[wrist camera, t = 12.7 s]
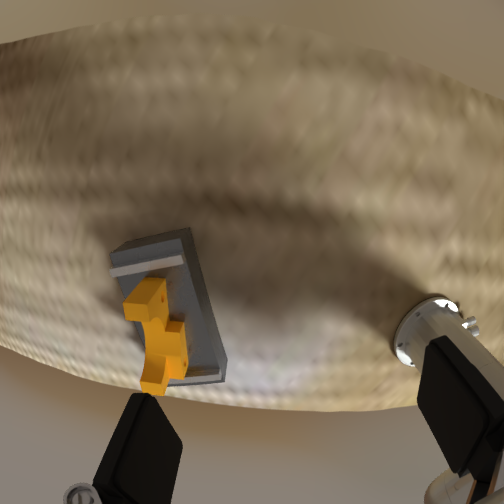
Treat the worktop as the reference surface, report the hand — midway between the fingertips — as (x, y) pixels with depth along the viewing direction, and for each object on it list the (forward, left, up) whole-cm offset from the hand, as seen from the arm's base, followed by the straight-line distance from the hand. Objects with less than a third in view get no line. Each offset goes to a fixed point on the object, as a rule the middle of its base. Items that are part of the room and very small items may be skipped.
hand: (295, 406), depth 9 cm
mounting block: (+14, +9, -28) cm, 32 cm away
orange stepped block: (+14, +8, -23) cm, 28 cm away
